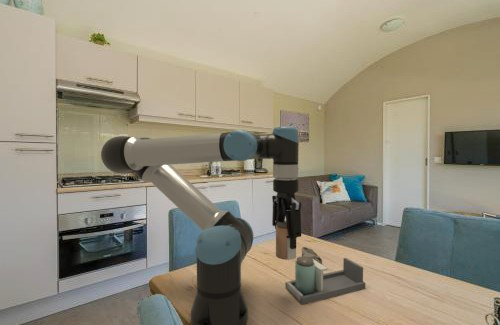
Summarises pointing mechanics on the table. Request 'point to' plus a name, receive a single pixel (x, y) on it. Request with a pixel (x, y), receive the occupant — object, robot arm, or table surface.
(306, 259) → the jar teal
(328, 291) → the lane
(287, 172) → the robot arm
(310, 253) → the mineral rock
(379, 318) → the table surface
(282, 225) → the jar terracotta
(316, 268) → the pusher
